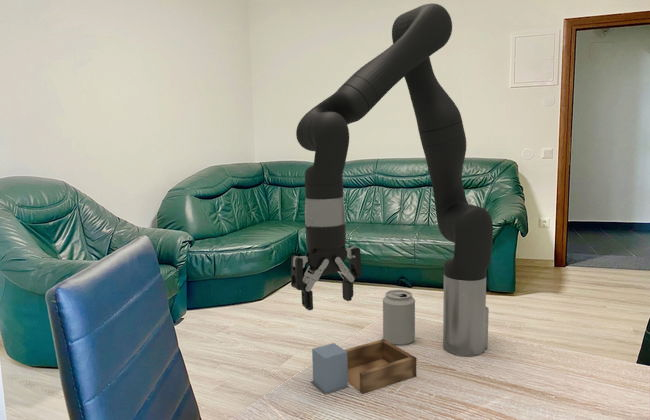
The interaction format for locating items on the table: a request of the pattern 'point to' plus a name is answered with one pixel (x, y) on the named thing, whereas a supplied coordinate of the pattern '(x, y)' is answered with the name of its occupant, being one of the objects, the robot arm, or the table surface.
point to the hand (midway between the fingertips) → (328, 304)
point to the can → (399, 317)
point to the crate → (378, 365)
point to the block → (330, 367)
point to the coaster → (330, 391)
